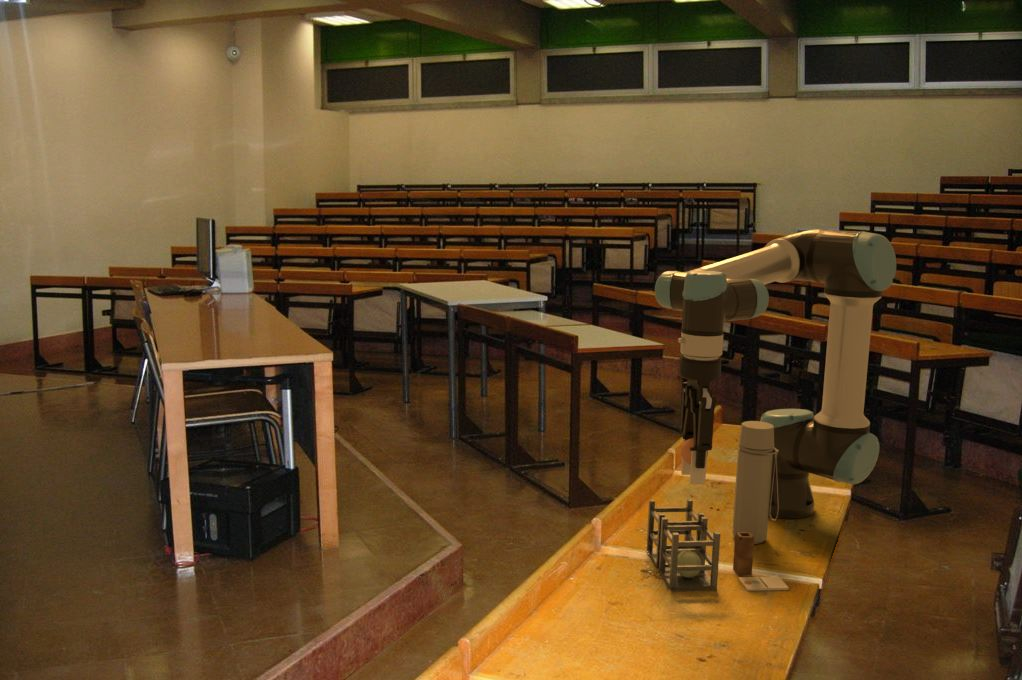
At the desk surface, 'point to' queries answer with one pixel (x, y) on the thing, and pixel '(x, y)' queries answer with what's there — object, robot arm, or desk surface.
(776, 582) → the card
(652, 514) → the wireframe cube
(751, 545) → the peg stand
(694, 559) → the ball sage
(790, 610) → the desk surface
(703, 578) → the dark open frame crate
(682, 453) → the ball terracotta
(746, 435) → the water bottle
